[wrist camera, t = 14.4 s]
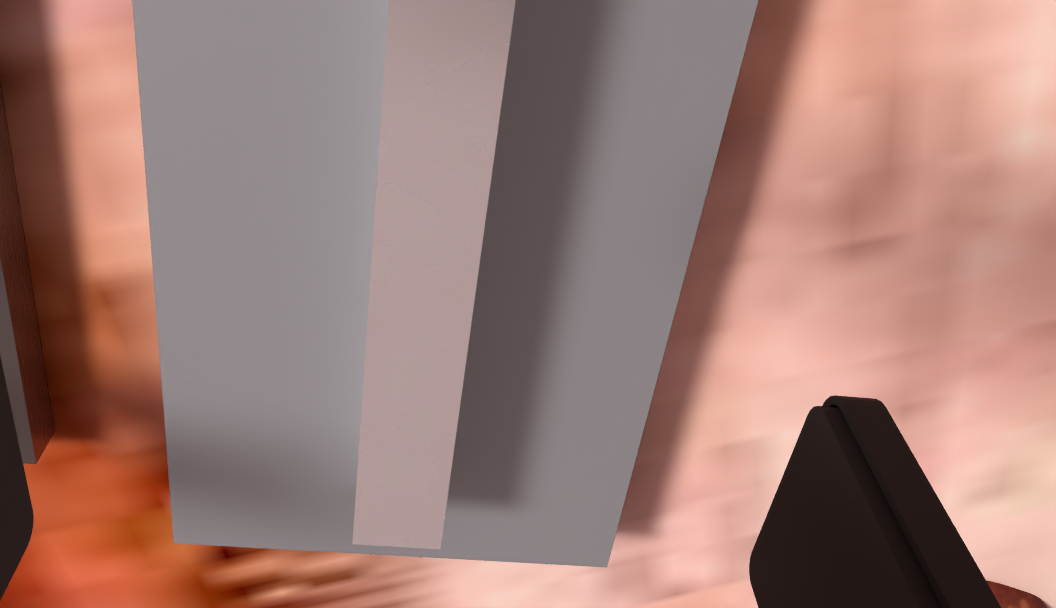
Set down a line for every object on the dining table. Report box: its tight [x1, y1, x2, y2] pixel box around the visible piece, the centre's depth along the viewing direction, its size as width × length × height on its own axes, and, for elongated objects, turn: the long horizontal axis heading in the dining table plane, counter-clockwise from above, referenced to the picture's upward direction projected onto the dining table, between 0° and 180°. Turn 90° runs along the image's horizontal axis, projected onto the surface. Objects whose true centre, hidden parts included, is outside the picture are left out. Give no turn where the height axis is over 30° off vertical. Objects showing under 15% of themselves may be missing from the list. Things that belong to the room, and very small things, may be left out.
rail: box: [352, 0, 516, 549], centre depth 21 cm, size 2×24×2 cm, turn 172°
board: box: [132, 0, 758, 567], centre depth 23 cm, size 14×30×2 cm, turn 172°
